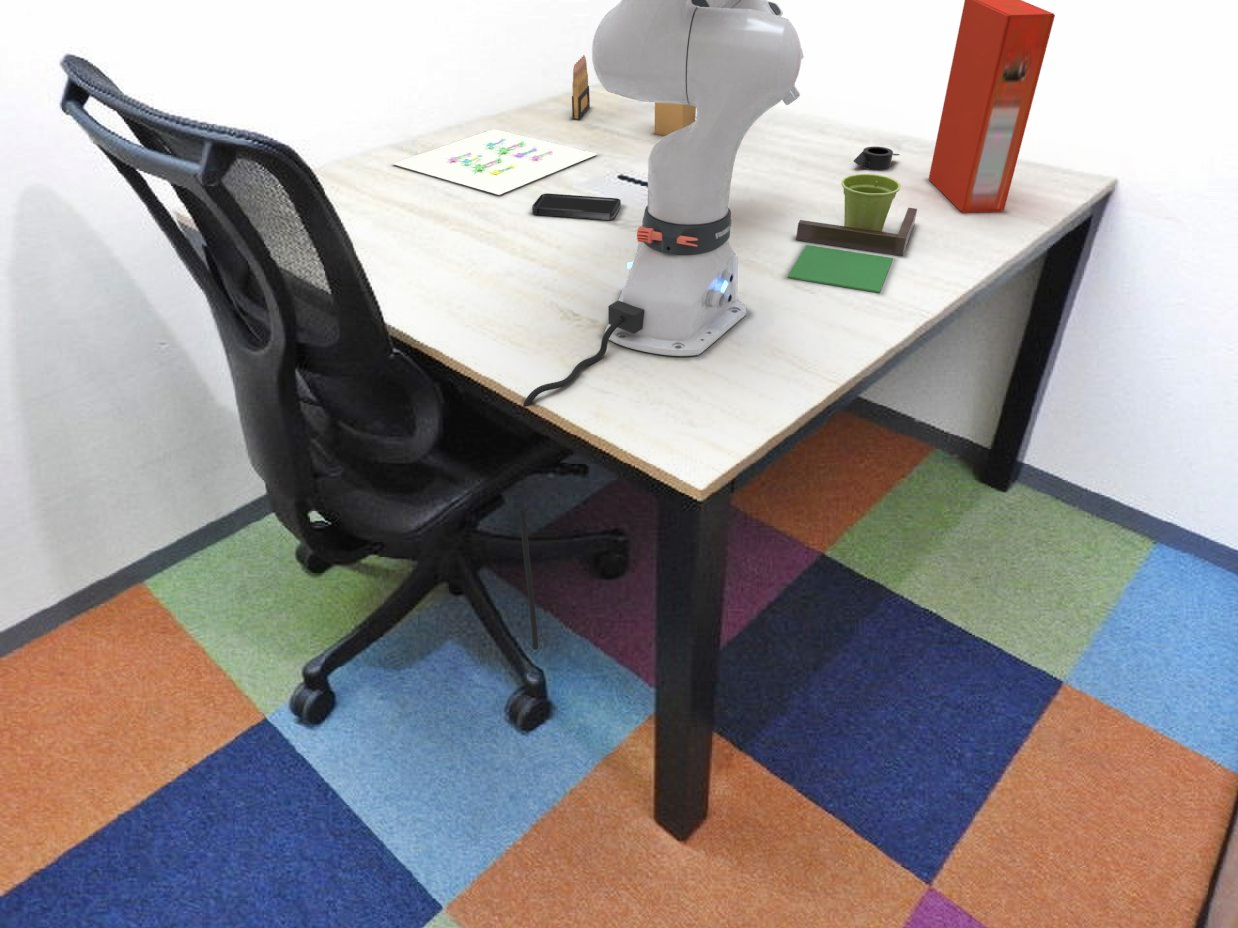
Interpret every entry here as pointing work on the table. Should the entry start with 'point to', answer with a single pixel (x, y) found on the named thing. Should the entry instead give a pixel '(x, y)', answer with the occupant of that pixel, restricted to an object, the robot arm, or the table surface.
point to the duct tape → (875, 158)
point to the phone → (576, 206)
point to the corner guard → (858, 235)
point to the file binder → (988, 101)
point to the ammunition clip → (580, 90)
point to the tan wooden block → (672, 117)
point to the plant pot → (868, 200)
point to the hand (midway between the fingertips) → (793, 101)
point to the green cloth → (841, 268)
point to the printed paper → (495, 160)
